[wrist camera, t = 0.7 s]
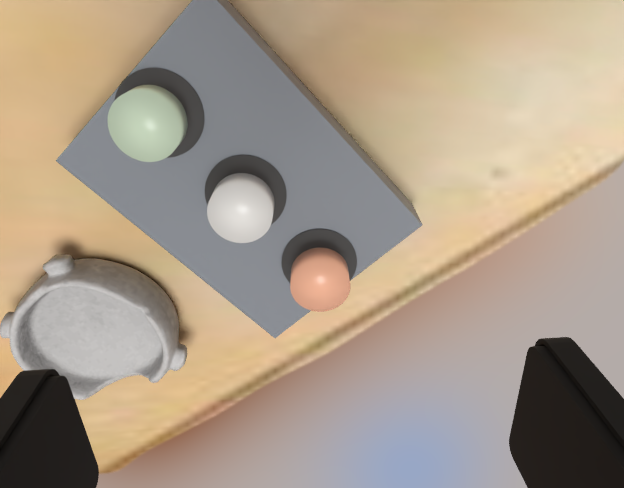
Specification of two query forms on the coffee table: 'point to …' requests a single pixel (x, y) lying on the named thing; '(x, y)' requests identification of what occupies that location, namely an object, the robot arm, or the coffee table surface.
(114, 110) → the sage button
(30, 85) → the coffee table surface
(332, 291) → the terracotta button
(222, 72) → the console
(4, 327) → the dish
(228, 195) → the white button
